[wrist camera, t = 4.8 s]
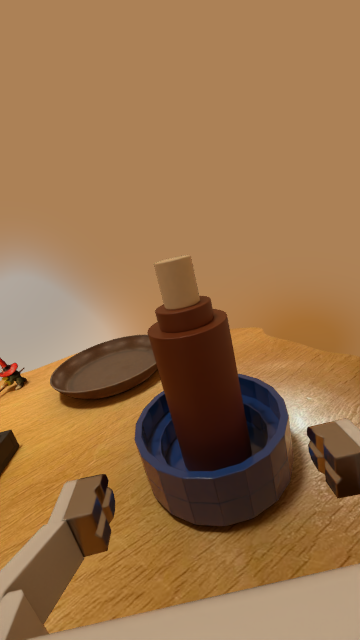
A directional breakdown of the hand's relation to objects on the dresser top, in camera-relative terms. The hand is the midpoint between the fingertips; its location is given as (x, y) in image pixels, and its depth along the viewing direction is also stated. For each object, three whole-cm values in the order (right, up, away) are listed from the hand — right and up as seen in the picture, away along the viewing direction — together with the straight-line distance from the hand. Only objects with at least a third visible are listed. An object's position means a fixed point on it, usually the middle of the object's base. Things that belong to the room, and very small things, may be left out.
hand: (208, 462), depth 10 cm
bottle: (+2, -7, +14) cm, 16 cm away
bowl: (+2, -7, +14) cm, 16 cm away
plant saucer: (-13, -4, +37) cm, 39 cm away
